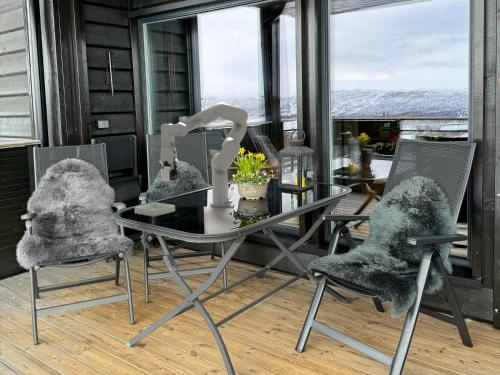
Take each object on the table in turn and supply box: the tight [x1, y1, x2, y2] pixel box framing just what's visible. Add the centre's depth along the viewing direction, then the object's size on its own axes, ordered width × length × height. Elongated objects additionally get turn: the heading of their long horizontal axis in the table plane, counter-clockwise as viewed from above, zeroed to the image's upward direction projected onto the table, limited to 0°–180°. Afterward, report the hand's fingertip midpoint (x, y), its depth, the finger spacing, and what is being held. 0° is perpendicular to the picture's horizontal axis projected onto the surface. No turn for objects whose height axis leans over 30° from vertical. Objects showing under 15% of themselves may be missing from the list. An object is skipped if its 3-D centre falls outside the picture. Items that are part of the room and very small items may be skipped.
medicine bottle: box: [160, 161, 179, 183], centre depth 303 cm, size 7×7×12 cm
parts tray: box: [134, 202, 176, 217], centre depth 294 cm, size 16×16×4 cm
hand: (169, 174), depth 304 cm, fingers closed on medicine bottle, 7 cm apart
